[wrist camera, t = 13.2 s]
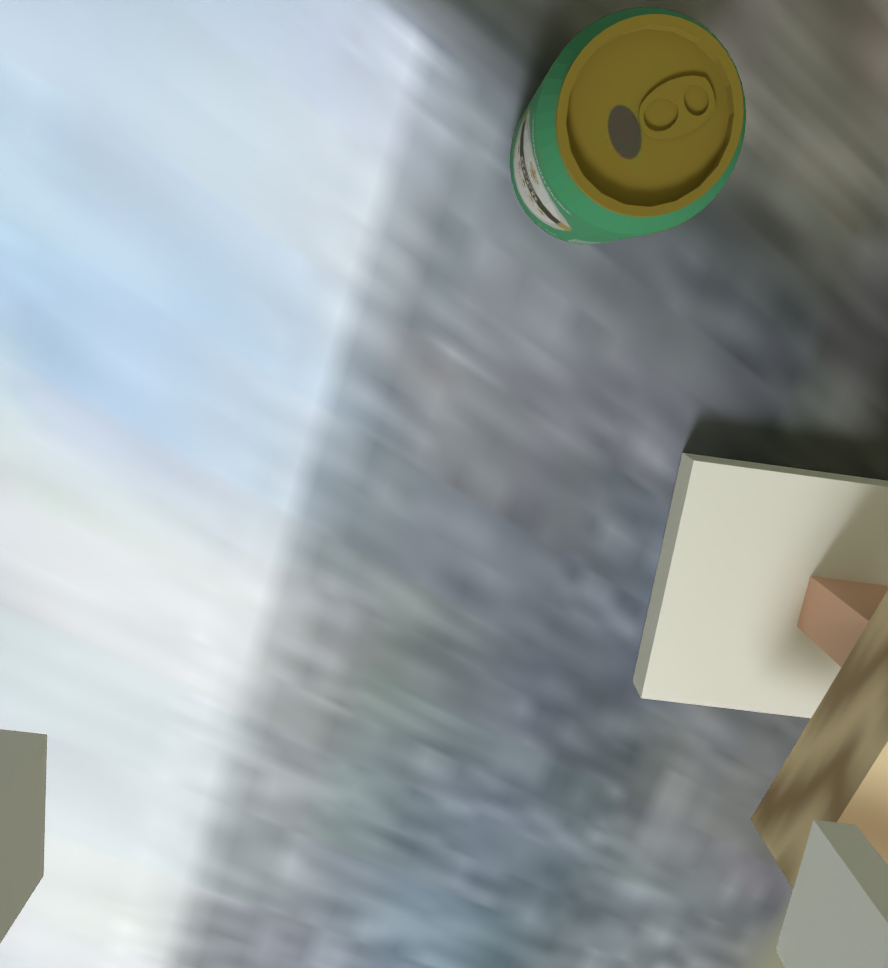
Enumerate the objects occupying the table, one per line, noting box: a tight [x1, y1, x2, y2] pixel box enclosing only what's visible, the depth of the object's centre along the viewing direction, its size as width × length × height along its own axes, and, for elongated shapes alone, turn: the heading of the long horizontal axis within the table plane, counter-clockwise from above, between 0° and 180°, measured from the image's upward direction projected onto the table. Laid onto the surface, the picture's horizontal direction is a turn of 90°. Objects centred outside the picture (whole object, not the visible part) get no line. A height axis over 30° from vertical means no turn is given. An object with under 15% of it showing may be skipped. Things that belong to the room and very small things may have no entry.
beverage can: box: [510, 7, 746, 244], centre depth 35 cm, size 8×8×12 cm
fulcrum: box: [633, 453, 888, 718], centre depth 43 cm, size 14×20×8 cm
